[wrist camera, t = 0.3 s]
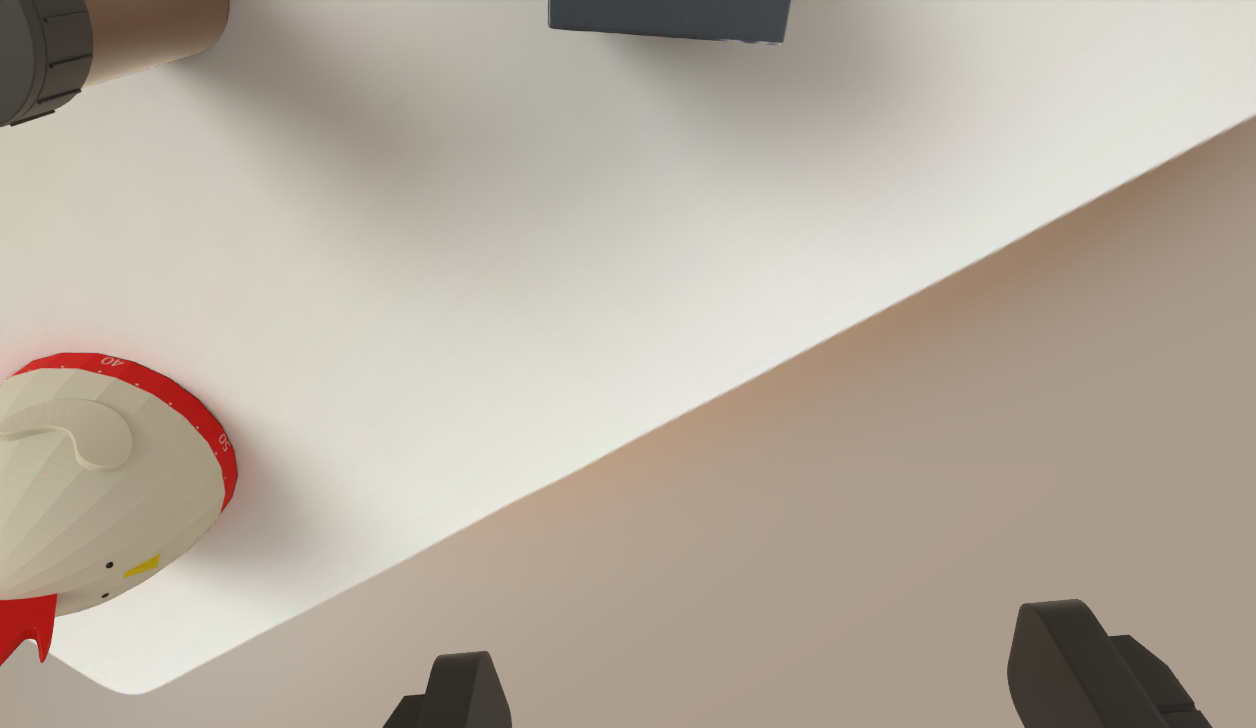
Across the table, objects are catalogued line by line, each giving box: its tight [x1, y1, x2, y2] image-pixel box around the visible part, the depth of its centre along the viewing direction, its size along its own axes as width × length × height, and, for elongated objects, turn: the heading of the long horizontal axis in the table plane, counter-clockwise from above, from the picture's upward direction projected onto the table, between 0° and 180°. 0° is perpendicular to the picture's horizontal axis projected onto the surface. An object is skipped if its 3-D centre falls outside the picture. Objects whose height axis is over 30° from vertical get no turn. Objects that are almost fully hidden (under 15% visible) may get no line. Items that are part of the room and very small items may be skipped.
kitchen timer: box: [0, 353, 238, 666], centre depth 39 cm, size 14×14×15 cm
